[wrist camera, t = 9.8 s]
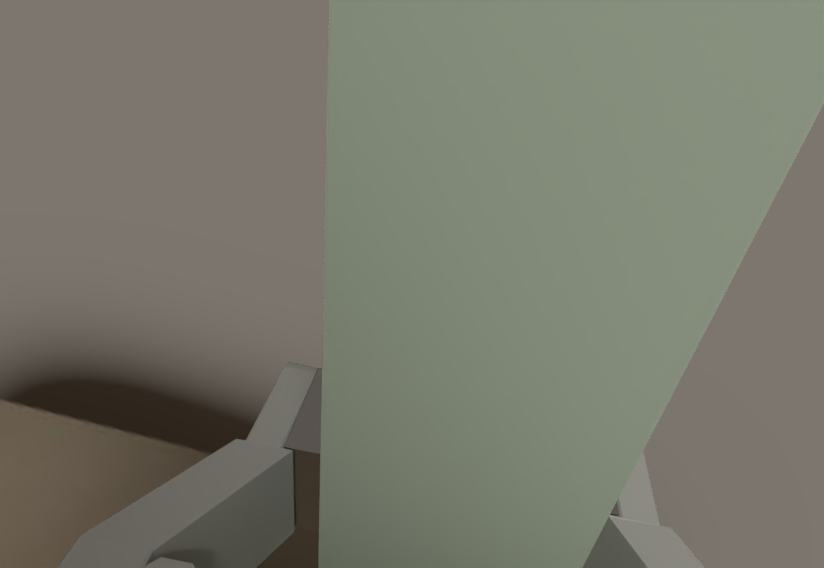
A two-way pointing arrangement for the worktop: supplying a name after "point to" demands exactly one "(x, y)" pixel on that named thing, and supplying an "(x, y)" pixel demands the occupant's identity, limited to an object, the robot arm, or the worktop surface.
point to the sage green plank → (531, 253)
